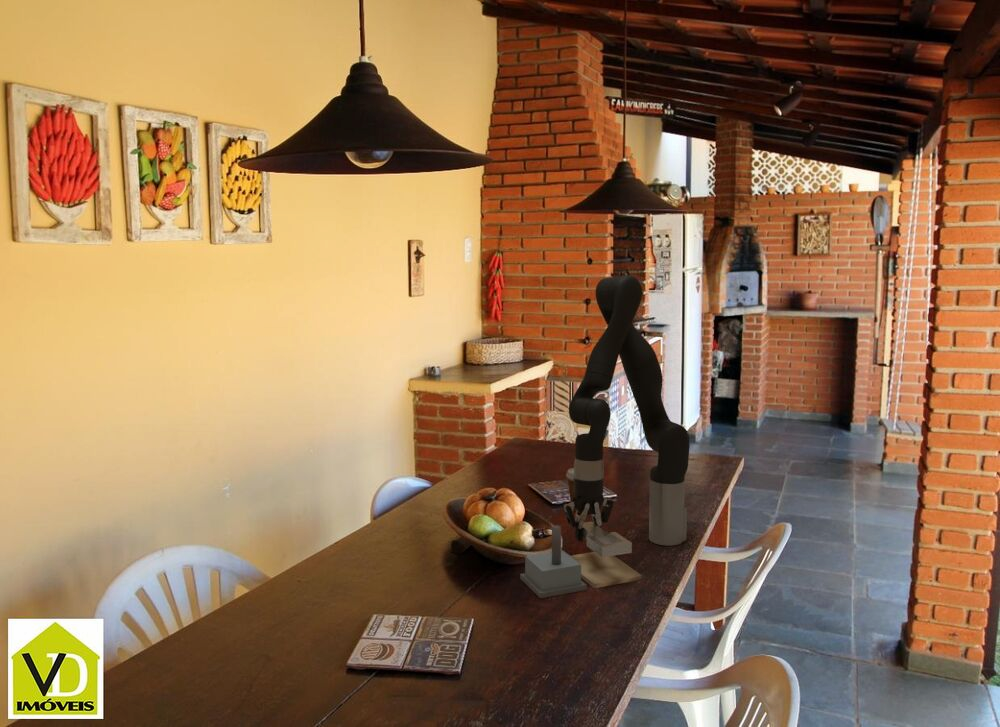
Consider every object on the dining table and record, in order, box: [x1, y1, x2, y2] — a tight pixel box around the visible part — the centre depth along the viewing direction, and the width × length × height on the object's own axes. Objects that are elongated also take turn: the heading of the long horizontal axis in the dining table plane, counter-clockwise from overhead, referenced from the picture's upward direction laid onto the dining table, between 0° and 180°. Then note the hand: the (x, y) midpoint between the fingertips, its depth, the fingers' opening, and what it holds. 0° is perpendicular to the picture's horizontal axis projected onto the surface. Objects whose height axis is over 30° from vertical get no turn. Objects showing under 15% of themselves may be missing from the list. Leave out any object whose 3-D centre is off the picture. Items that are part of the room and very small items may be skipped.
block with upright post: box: [519, 524, 588, 599], centre depth 188 cm, size 12×12×15 cm
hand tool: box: [450, 537, 471, 555], centre depth 216 cm, size 19×4×5 cm, turn 147°
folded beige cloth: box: [570, 551, 643, 589], centre depth 197 cm, size 13×18×1 cm
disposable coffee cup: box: [565, 467, 577, 512], centre depth 243 cm, size 10×10×12 cm
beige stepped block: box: [582, 520, 633, 557], centre depth 196 cm, size 17×8×2 cm, turn 21°
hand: (587, 539), depth 202 cm, fingers closed on beige stepped block, 4 cm apart
